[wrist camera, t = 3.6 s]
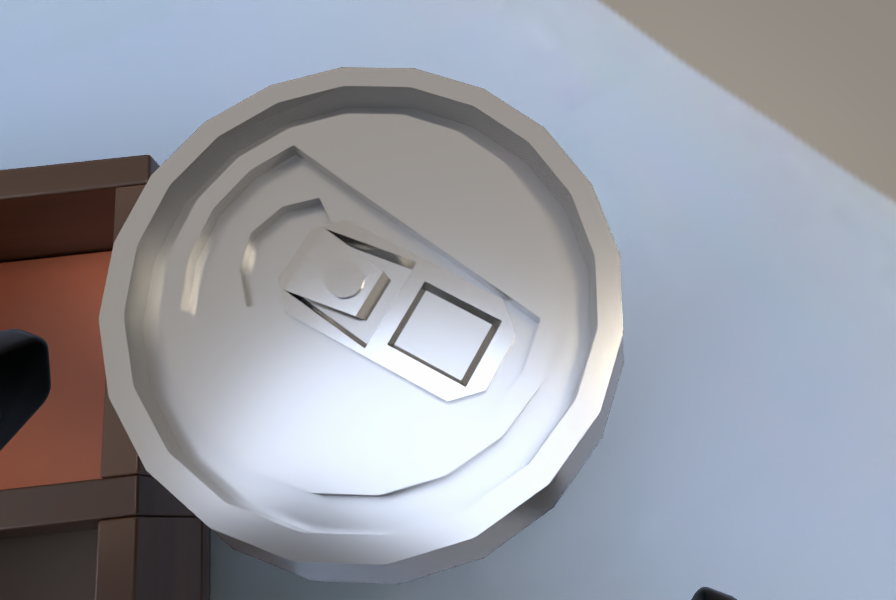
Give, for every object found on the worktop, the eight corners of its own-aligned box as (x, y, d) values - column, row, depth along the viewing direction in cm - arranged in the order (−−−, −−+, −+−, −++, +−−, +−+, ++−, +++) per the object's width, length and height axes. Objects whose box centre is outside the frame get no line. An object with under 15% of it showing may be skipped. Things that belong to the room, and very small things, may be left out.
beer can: (564, 396, 18) (738, 181, 7) (468, 587, 17) (478, 735, 5) (391, 304, 19) (279, -25, 7) (286, 478, 17) (-49, 399, 6)
